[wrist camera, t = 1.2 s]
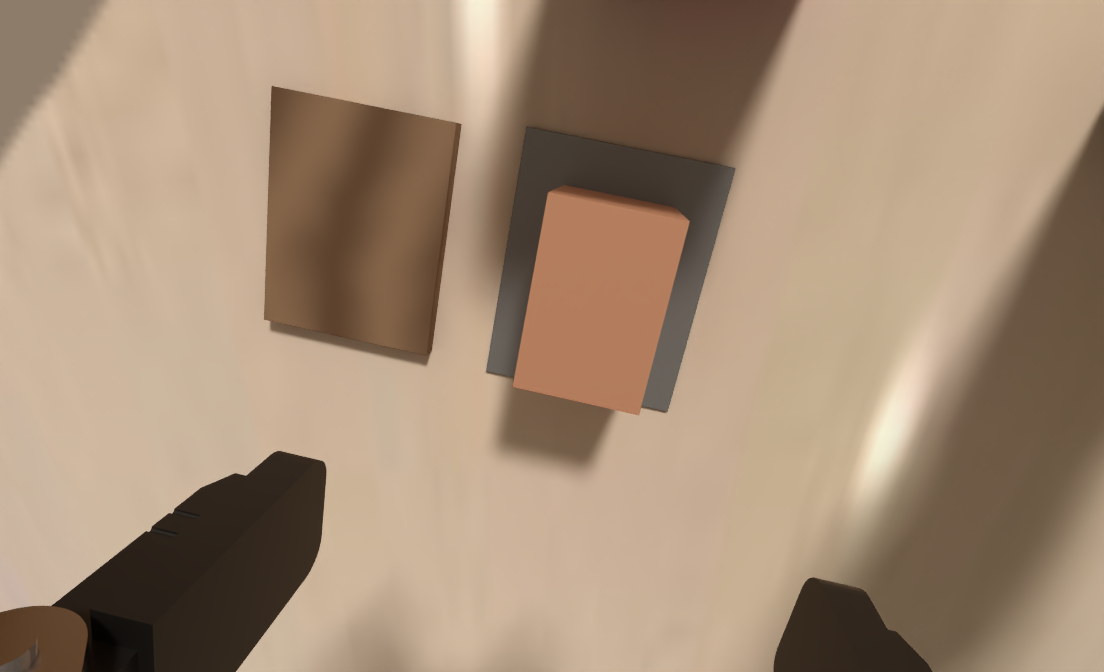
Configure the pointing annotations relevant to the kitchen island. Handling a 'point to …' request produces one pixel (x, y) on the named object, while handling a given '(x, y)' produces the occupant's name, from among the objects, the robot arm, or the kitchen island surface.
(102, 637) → the robot arm
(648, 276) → the terracotta block
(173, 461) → the kitchen island surface
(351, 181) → the walnut board
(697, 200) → the tile
